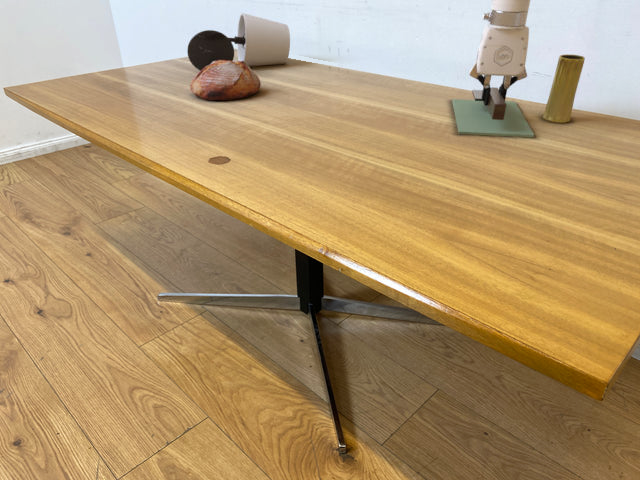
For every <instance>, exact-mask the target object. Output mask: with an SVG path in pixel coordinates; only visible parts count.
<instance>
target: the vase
mask: <svg viewBox="0 0 640 480" xmlns="http://www.w3.org/2000/svg"><path fill="white" fill-rule="evenodd" d="M585 58H586V57H585V56H583V55H579V54H561V55H559V56H558V60H557V64H556V69H555V73H554V77H553V80H552V84H551V87H550V92H549V94H548V99H547V102H546V105H545V108H544V109H545V110H544V113H543V115H542V118H543V119H544V120H545V121H547V122H551V123H558V124H563V123H568V122H570V121H571V117H572V112H573V107H574V102H575V97H576V93H577V90H578V86H579V82H580V79H581V75H582V73H583V68H584V64H585Z"/></svg>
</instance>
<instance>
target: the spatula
mask: <svg viewBox="0 0 640 480" xmlns="http://www.w3.org/2000/svg"><path fill="white" fill-rule="evenodd" d="M490 89H491V92H490V96H489V102H488V105H487V108H488V110H489V113H490V115H491V118H492V119H494V120H504V115H505V110H506V103H505V101H506V100H505V101H504V99H503V97H502V95H501V93H500V92H499V87H491V86H490ZM482 92H483V89H472V90H471V93H472V96H473V100H475V101H482V100H481V98H482Z"/></svg>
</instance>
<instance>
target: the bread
mask: <svg viewBox="0 0 640 480" xmlns="http://www.w3.org/2000/svg"><path fill="white" fill-rule="evenodd" d="M261 82H262V81H261V79H260V77H259V76H258V75H257V74H256V73H255V71H254V70H252V69H251V66H247V65H246V63H245V62H244V61H239V60H238V61H234V60H233V61H226V60H217V61H213V62H212V63H211V64H210V65H208V66H205V67H204V68H203V69H202V70H201V71H200V70H199V71H198V72H197V73H196V74H195V76H193V78H192V80H191V81H190V84H189V88H190V89H189V90H190V91H191V93H192V94H193V95H194V96H197V97H199V98H201V99H204V100H208V101H211V102H213V101H234V100H240V99H244V98H249V97H252V96H253V95H255V94H256V93H258V92H259V91H260V89H261V87H262V83H261Z"/></svg>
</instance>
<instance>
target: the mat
mask: <svg viewBox="0 0 640 480" xmlns="http://www.w3.org/2000/svg"><path fill="white" fill-rule="evenodd" d="M451 102H452V108H453V112H454V117H455V122H456V123H455V124H456V126H457V132H458V135H468V136H469V135H471V136H489V137H490V136H492V137H509V138H511V137H514V138H515V137H516V138H535V137H536V136H535V133H534V132H533V130H532V128H531V126H530V125H529V123H528V121H527V119H526V118H525V116H524V115H523V113H522V111H521V109H520V107H519V106H518V104H517V103H516V101H515V100H505V103H506V110H505V115H504V120H494V119H492V118H491V115H490V113H489V110H488V108H487V106H485V105H484V103H483V101H475V99H461V98H460V99H459V98H452V99H451Z"/></svg>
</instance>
